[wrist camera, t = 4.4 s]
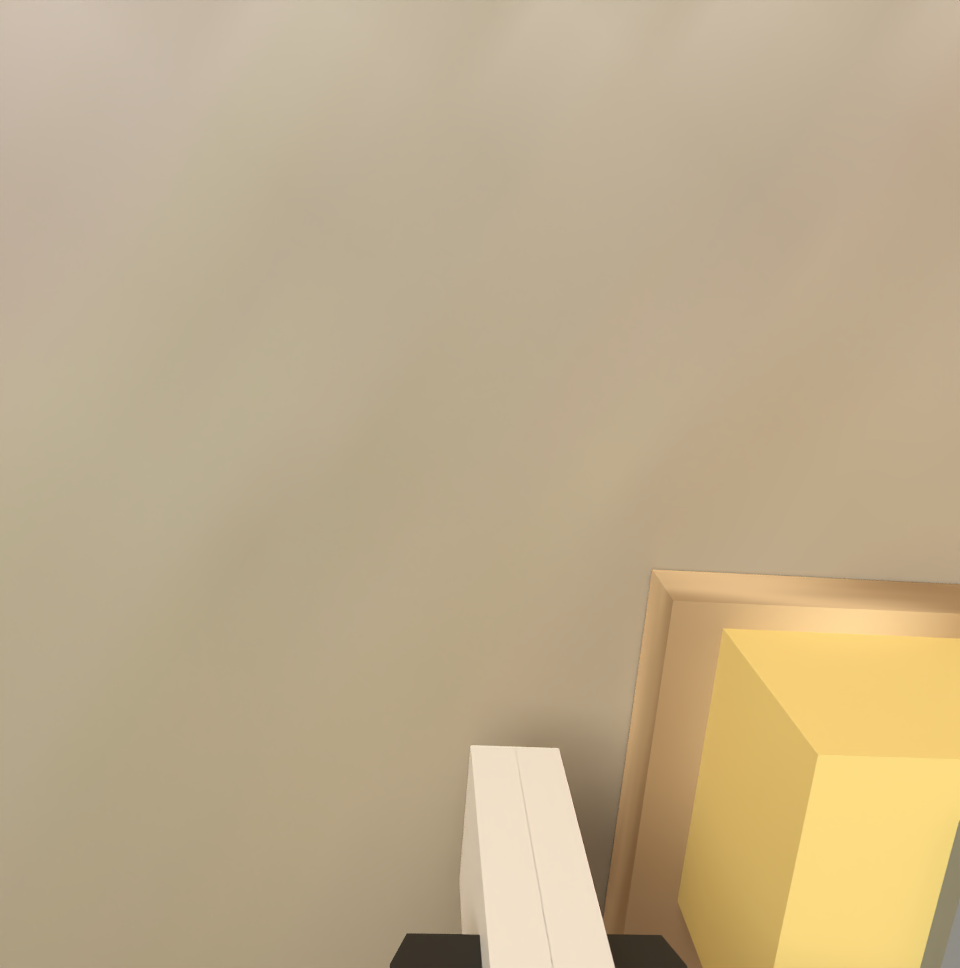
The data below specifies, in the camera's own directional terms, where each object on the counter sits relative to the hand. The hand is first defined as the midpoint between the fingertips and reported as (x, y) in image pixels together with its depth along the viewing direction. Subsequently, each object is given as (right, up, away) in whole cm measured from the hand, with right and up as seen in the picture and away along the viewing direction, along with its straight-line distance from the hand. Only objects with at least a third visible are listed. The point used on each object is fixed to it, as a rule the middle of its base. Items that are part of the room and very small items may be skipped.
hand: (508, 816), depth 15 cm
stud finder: (+7, 0, +2) cm, 7 cm away
